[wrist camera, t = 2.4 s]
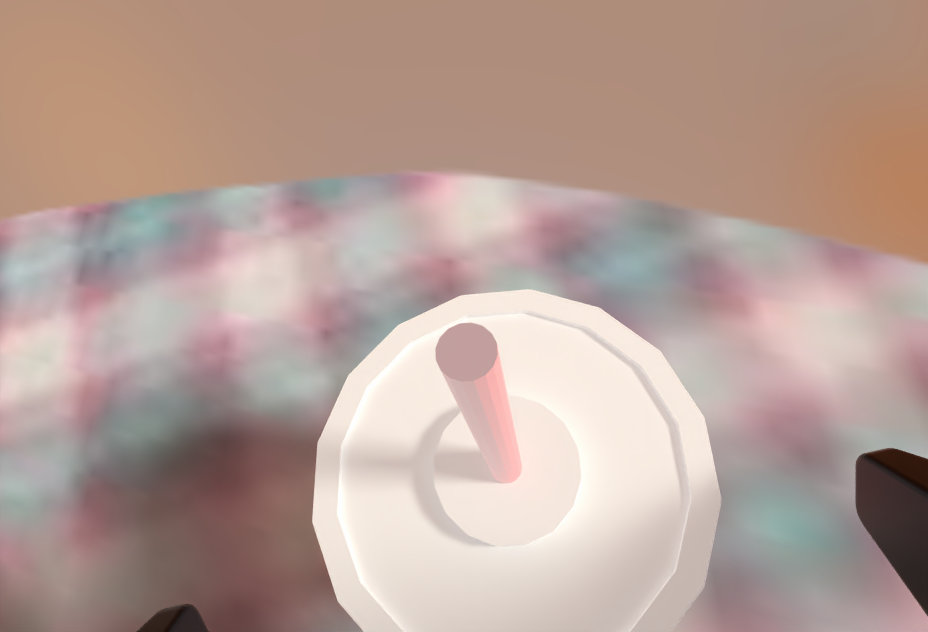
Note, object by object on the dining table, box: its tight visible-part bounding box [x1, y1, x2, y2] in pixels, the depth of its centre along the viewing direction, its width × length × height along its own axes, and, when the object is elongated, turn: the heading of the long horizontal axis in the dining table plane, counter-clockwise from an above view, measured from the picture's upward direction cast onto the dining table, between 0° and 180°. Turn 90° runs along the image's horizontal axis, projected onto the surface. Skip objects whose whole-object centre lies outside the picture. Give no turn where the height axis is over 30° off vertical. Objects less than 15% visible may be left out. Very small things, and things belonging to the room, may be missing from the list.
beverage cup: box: [312, 289, 722, 632], centre depth 11 cm, size 6×6×14 cm
